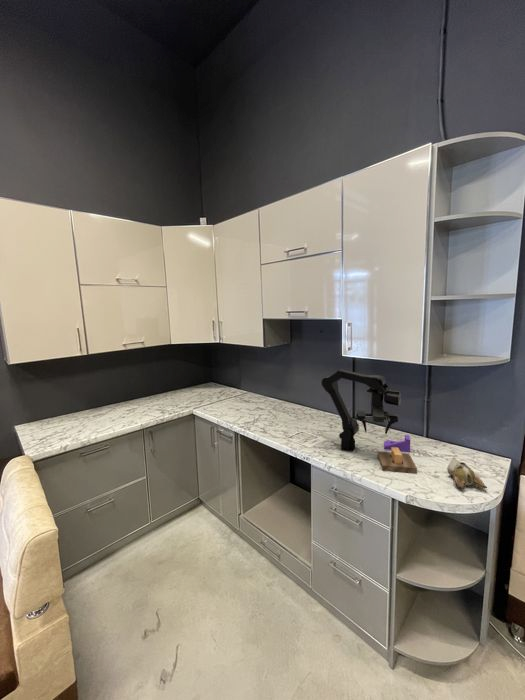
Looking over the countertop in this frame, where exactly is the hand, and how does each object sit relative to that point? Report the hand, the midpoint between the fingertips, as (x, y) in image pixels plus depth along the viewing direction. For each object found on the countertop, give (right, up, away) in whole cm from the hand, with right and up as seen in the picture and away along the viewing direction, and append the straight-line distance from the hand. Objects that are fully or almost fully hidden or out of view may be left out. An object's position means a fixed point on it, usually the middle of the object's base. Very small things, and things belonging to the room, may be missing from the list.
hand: (375, 433), depth 149 cm
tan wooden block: (+6, -12, -8) cm, 16 cm away
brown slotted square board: (+7, -12, -8) cm, 16 cm away
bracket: (+14, -11, +9) cm, 20 cm away
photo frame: (-31, -10, +23) cm, 39 cm away
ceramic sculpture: (+27, -14, -24) cm, 38 cm away
